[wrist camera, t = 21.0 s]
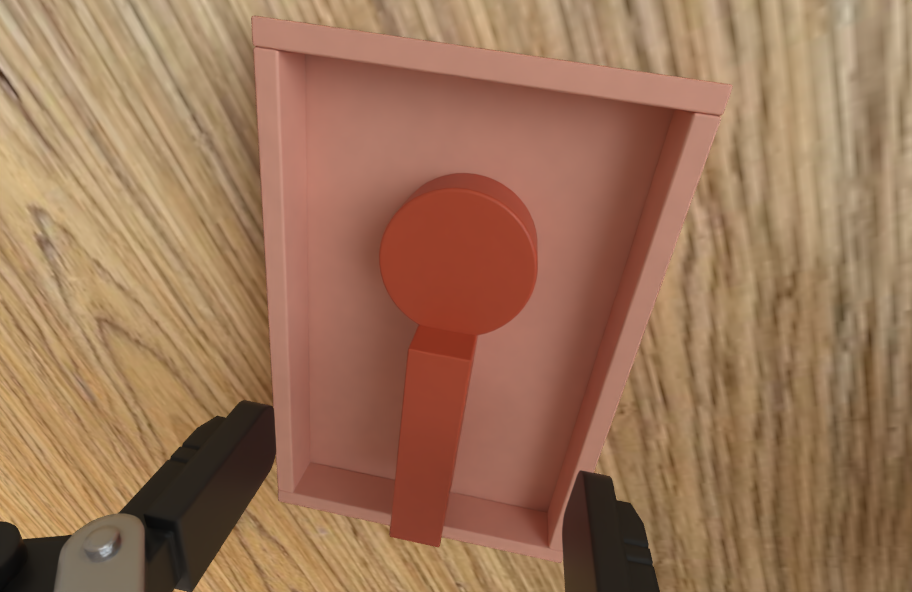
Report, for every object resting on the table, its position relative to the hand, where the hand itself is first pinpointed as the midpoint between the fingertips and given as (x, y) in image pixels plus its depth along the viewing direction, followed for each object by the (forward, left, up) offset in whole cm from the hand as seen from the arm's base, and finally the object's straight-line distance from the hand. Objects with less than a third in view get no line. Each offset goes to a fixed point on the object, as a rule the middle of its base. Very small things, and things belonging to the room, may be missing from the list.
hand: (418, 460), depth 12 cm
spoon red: (0, +1, -4) cm, 4 cm away
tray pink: (0, +2, -4) cm, 5 cm away
